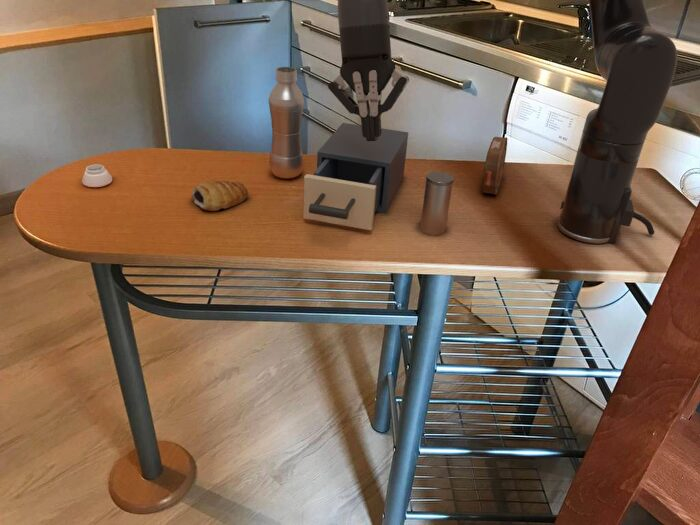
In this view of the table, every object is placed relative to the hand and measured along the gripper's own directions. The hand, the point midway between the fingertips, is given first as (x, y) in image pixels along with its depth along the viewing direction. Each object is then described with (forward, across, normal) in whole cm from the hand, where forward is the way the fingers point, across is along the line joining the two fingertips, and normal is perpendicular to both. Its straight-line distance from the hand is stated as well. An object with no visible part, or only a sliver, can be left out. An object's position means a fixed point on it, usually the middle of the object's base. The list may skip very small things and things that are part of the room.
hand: (372, 140), depth 98 cm
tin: (+14, +17, +24) cm, 33 cm away
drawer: (+12, -6, +1) cm, 14 cm away
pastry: (+9, -28, -2) cm, 30 cm away
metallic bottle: (+8, -21, +13) cm, 26 cm away
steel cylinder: (+16, +8, +3) cm, 18 cm away
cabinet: (+11, -6, +13) cm, 18 cm away
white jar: (+5, -51, -3) cm, 51 cm away
